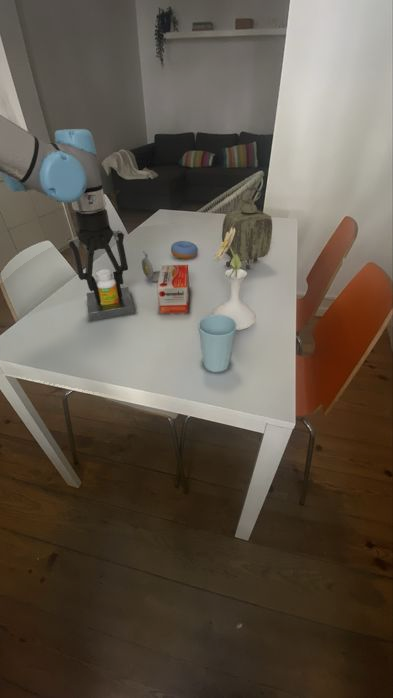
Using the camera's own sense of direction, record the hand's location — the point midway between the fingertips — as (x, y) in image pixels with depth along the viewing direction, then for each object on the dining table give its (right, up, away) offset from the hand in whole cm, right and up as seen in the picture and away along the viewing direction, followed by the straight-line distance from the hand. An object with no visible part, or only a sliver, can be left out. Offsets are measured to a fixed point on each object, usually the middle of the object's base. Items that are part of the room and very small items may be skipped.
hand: (108, 297), depth 88 cm
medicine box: (+18, 0, +4) cm, 19 cm away
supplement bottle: (0, -2, +1) cm, 3 cm away
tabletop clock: (+41, +14, +22) cm, 49 cm away
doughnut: (+20, +21, +31) cm, 42 cm away
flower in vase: (+34, -8, -6) cm, 35 cm away
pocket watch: (+11, +8, +16) cm, 21 cm away
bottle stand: (0, -2, +2) cm, 3 cm away
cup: (+29, -18, -18) cm, 39 cm away
